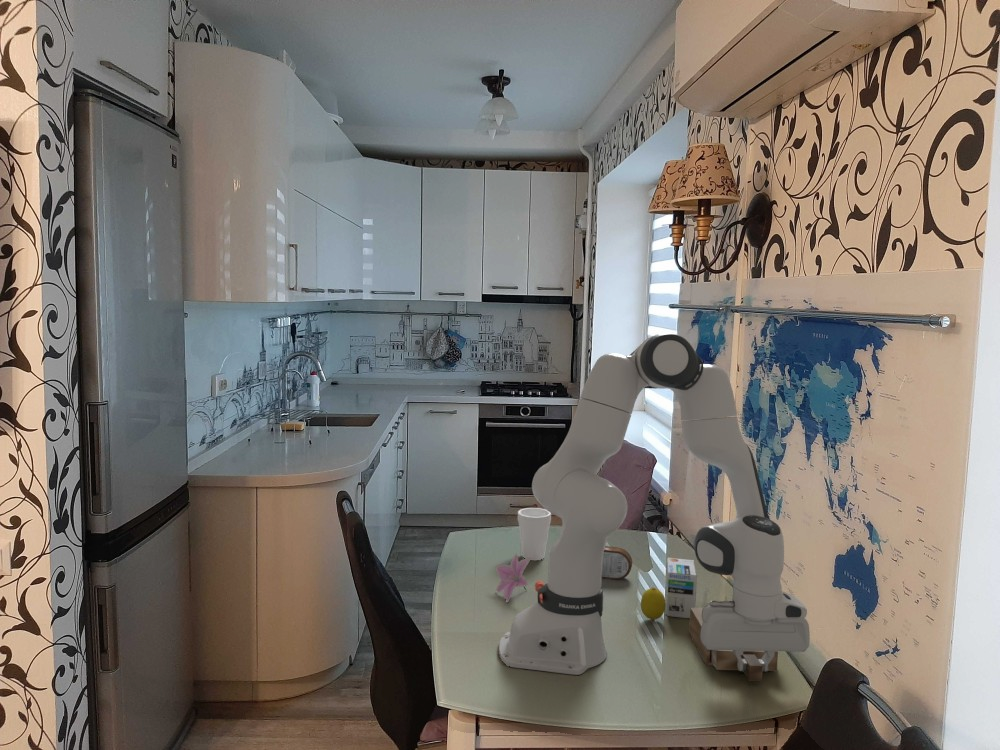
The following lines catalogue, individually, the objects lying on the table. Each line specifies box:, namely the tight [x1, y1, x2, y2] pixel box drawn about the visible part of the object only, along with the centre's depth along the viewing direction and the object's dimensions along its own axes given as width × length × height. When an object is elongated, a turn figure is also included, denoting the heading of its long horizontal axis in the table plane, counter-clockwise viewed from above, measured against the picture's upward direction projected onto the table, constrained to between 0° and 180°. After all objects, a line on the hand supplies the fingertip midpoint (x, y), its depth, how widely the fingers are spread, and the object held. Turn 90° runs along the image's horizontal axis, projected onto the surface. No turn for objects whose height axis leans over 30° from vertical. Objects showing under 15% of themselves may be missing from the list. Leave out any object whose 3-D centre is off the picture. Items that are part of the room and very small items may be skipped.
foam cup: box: [517, 507, 552, 561], centre depth 208 cm, size 10×9×13 cm
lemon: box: [640, 587, 666, 622], centre depth 169 cm, size 6×6×8 cm
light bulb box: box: [665, 557, 698, 619], centre depth 175 cm, size 11×7×11 cm, turn 168°
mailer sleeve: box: [688, 607, 714, 666], centre depth 156 cm, size 14×14×6 cm
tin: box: [601, 545, 633, 581], centre depth 194 cm, size 15×3×8 cm, turn 77°
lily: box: [495, 553, 531, 602], centre depth 182 cm, size 12×12×10 cm
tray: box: [710, 650, 779, 682], centre depth 149 cm, size 12×18×4 cm, turn 0°
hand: (752, 670), depth 142 cm, fingers closed on tray, 2 cm apart
